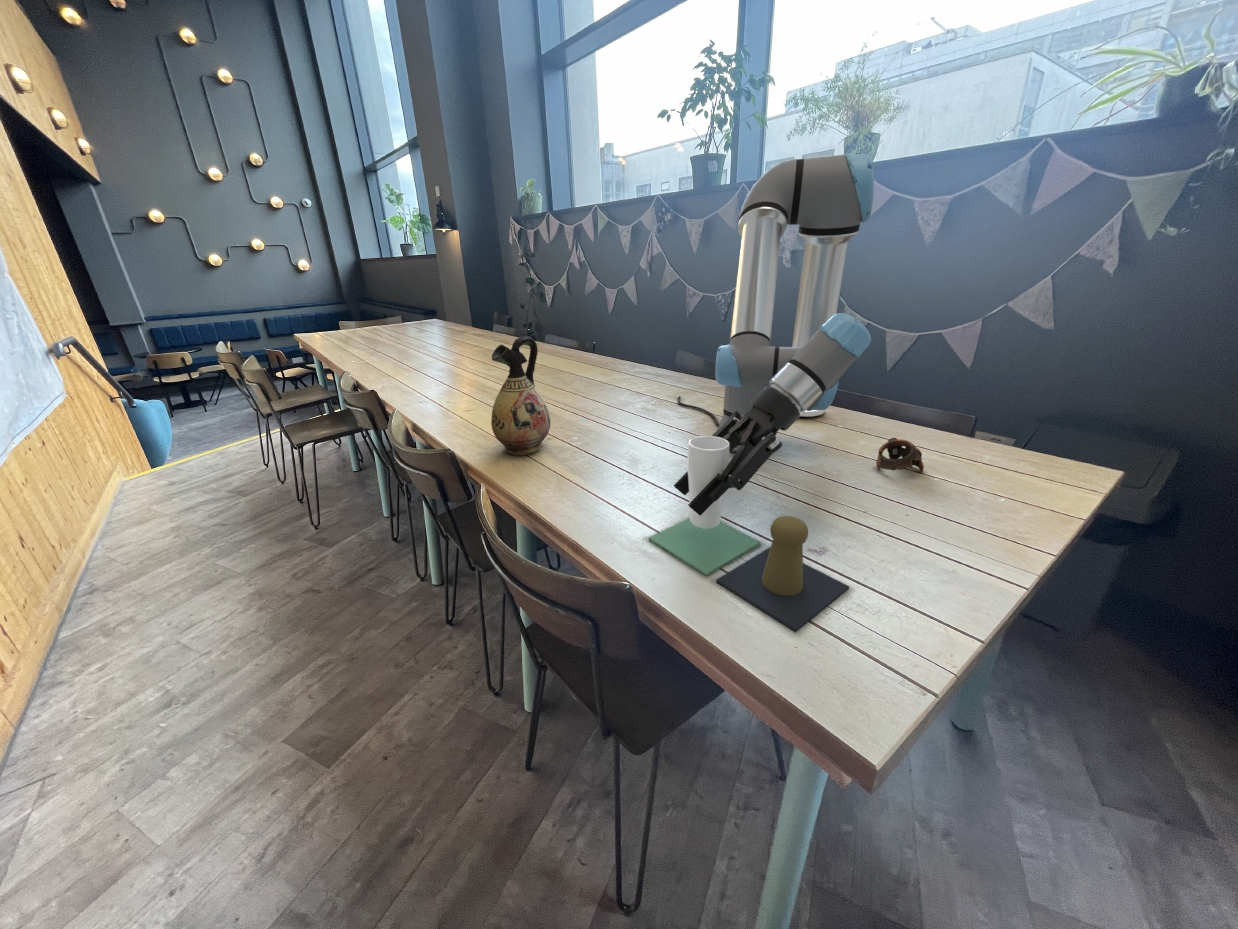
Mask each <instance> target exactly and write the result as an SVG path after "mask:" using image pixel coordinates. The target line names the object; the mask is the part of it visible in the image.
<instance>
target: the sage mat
mask: <svg viewBox="0 0 1238 929" xmlns="http://www.w3.org/2000/svg"><path fill="white" fill-rule="evenodd" d="M648 541H650V542H651V543H653V544H655V545H656V546H658V547H660V548H661V549H662V550H664V551H666V552H668V553H669V554H671V555H672V556H674V557H675V558H677V559H679V560H680V561H682V562H683V563H685V564H687V565H688V566H690V567H691V568H693V569H694V570H696V571H698V572H699V573H701V574H703V575H704V576H706V577H708V576H709V575H710V574H712V573H714V572H716V571H718V570H719V569H721V568H723V567H724V566H726V565H728V564H730V563H731V562H733V561H734V560H736V559H738V558H740V557H741V556H743V555H744V554H745V555H746V553H749V552H750V551H751V550H753V549H755V548H757V547H758V546H760V545H761V544H762V542H761V540H758V539H756V538H754V537H752V536H750V535H749V534H748V535H747V534H746V533H744V532H742V531H740V530H738V529H735V528H733V527H732V526H730V525H727V524H726V523H723V522H722V521H720V524H719V525H718V526H717V527H714V528H711V529H702V528H698V527H696V526H694V525H693V524H692V523H691V522H690V517H689V518H687V519H684V520H683V521H680V522H678V523H676V524H674V525H672V526H670V527H668V528H666V529H664V530H662V531H659V532H657V533H655V534H653V535H651V536H649V537H648Z"/></svg>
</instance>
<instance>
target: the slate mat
mask: <svg viewBox="0 0 1238 929" xmlns="http://www.w3.org/2000/svg"><path fill="white" fill-rule="evenodd" d="M770 548H771V546H769V547H768V548H766V549H765V550H763V551H761V552H759V553H758V554H756V555H755V556H753V557H751V558H750V559H748V560H747V561H745V562H743V563H741V564H740V565H738V566H737V567H734V568H733V569H731V570H730V571H727V573H725V574H723V575H721V576H719V577H718V578H717V579H716V580H715V582H716V584H718V585H720V586H721V587H723V588H725V589H726V590H728V591H729V592H731V593H733V594H735V596H738V597H739V598H741V599H742V600H744V601H746V602H747V603H749V604H750V605H752V606H753V607H755V608H757V609H758V610H759V611H762V612H763V613H765V614H766V615H768V616H769V617H771V618H773V619H774V620H775V621H777V622H778V623H781V624H782V625H784V626H785V627H787V628H788V629H790V630H792V631H793V632H797V631H799V630H800V629H801V628H803V627H804V626H805V625H806V624H807V623H809V622H810V621H811V620H812V619H813V618H814V617H816V616H817V615H819V614H820V613H821V612H822V611H824V610H825V609H826V608H827V607H828V606H829V605H831V604H833V602H835V600H837V599H839V598H840V597H841V596H842V595H844V593H845V592H847V591H848V590H850V586H849V585H847V584H845V583H844V582H841V581H839V580H837V579H835V578H833V577H832V576H829V575H828V574H826V573H824V572H822V571H819V570H817V569H815V568H813V567H811V566H809V565H807V564H806V563H804V562H803V588H802V591H801V592H799V593H798V594H795V595H790V596H785V595H779V594H776V593H773V592H771V591H769V590H768V589H767V588H766V587H765V586H764V585H763V583H762V576H763V573H764V569H765V566H766V562H767V559H768V555H769V552H770Z"/></svg>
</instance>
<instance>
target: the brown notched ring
mask: <svg viewBox="0 0 1238 929" xmlns="http://www.w3.org/2000/svg"><path fill="white" fill-rule="evenodd" d="M885 450H886V451H887V453H888V457H886V456H885V455H884V451H885ZM877 454H878V455H877V459H876V461H875V467H876V469H877V471H881V469H882V470H888V471H896V470H903V469H911V470H913V469H914V468H913V466H915V467H917V468H918V469H919V472H920V473H924V469H925V468H924V467H925V464H924V463H923V461H922V460H923V458H922V455H923V453H922V451H921V449H920V448H918V447H917V446H916V445H914V444H913V442H911V441H909V440H907V439H900V438H897V437H892V438H889V439H888V440H887V442H885V443H883V444H882V445H881V446H880V447H879V449H878V453H877Z"/></svg>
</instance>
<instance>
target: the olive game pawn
mask: <svg viewBox="0 0 1238 929" xmlns="http://www.w3.org/2000/svg"><path fill="white" fill-rule="evenodd" d="M769 531H770V537H771V538H772V541H771V545H770V547H771V548H770V547H769V548H770V552H769V555H768V559H767V562H766V566H765V569H764V573H763V576H762V583H763V585H764V586H765V587H766V588H767V589H768V590H769V591H771V592H773V593H776V594H779V595H785V596H790V595H795V594H798V593H799V592H801V591H802V588H803V563H804V559H803V558H804V557H803V556H804V555H803V554H804V553H803V549H804V548H803V546H804V544H805V543H806V541H807V539H808V537H809V528H808V526H807V524H806V522H805V521H804V520H802V519H800V518H798V517H795V516H791V515H781V516H778V517H776V518H775V519H774V520H773V521H772V522H771V525H770V530H769Z"/></svg>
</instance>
